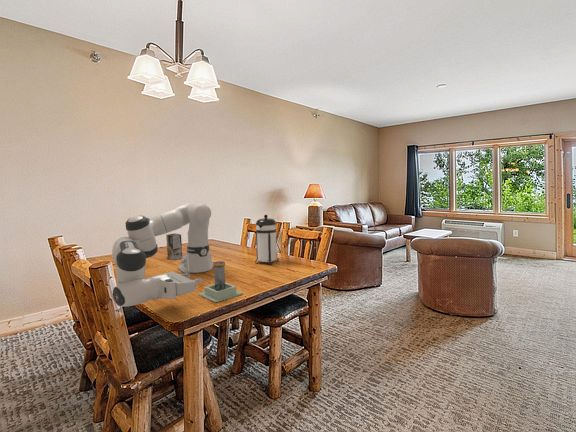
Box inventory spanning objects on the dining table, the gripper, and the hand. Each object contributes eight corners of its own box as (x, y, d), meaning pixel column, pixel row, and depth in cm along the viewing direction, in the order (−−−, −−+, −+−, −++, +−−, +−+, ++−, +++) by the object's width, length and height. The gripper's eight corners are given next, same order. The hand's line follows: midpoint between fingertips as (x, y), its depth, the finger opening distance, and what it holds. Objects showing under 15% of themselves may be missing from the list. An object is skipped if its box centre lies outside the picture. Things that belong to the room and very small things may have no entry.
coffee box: (182, 258, 207) (181, 234, 205) (173, 260, 202) (172, 235, 201) (176, 256, 213) (175, 233, 212) (167, 257, 209) (165, 234, 207)
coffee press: (283, 264, 188) (282, 215, 185) (257, 266, 184) (256, 216, 181) (276, 257, 205) (275, 212, 202) (252, 259, 200) (250, 213, 197)
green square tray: (198, 294, 138) (198, 287, 138) (225, 287, 148) (224, 279, 148) (215, 303, 128) (215, 294, 128) (242, 294, 138) (242, 286, 138)
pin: (212, 293, 138) (210, 262, 136) (222, 290, 142) (220, 260, 140) (218, 296, 134) (217, 264, 133) (228, 293, 138) (227, 262, 136)
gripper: (151, 287, 126) (183, 279, 136) (173, 300, 112) (207, 290, 122) (150, 272, 126) (182, 265, 135) (173, 283, 111) (207, 275, 121)
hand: (194, 277), depth 128 cm, fingers open, 8 cm apart
